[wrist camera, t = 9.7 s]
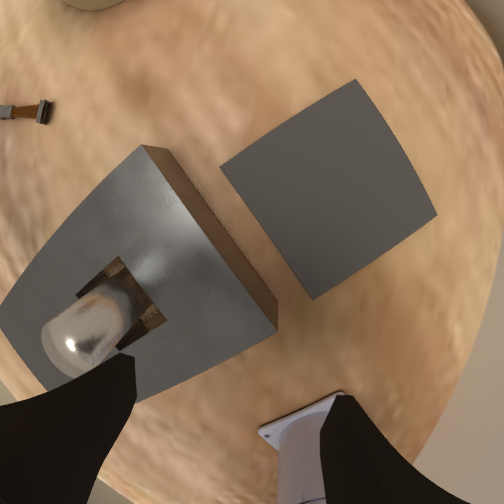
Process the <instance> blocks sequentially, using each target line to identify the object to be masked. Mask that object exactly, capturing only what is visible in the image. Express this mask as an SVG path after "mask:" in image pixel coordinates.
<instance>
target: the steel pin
mask: <svg viewBox="0 0 504 504" xmlns="http://www.w3.org/2000/svg"><path fill="white" fill-rule="evenodd" d="M152 304H153V301H152V300H151V299H150V298H149V296H148V295H147V294H146V292H145V291H144V290H143V288H142V287H141V286H140V284H139V283H138V282H137V280H136V279H135V278H134V276H133V275H132V274H131V272H130V271H129V270H128V268H127V267H125V268H124V269H122V270H121V271H119V272H118V273H116V274H115V275H113V276H112V277H110V278H109V279H107V280H106V281H105V282H103V283H102V284H100V285H99V286H97V287H96V288H94V289H93V290H92V291H90V292H89V293H87V294H86V295H84V296H83V297H82V298H80V299H79V300H77V301H76V302H75V303H73V304H72V305H70V306H69V307H68V308H66V309H65V310H64V311H62V312H61V313H59V314H58V315H57V316H55V317H54V318H53V319H51V320H50V321H49V322H47V323H46V324H45V325H44V326H43V328H42V332H41V339H42V344H43V347H44V350H45V352H46V354H47V356H48V357H49V359H50V360H51V362H52V363H53V364H54V365H55V366H56V367H57V368H58V369H59V370H60V371H62V372H63V373H64V374H66V375H68V376H70V377H72V378H77V377H79V376H81V375H82V374H84V373H86V372H88V371H89V370H91V369H93V368H94V367H96V366H98V365H99V364H100V362H101V361H102V360H103V359H104V358H105V357H106V355H107V354H108V353H109V352H110V351H111V350H112V349H113V347H114V346H115V345H116V344H117V343H118V342H119V341H120V339H121V338H122V337H123V336H124V335H125V334H126V333H127V332H128V330H129V329H130V328H131V327H132V326H133V325H134V324H135V323H136V321H137V320H138V319H139V318H140V317H141V316H142V315H143V314H144V313H145V311H146V310H147V309H148V308H149V307H150V306H151V305H152Z"/></svg>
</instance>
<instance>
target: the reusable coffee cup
mask: <svg viewBox="0 0 504 504" xmlns="http://www.w3.org/2000/svg"><path fill="white" fill-rule="evenodd" d="M59 1H61V2H64V3H67V4H69V5H71V6H74V7H76V8H79V9H81V10H85V11H96V10H101V9H105V8H108V7H111V6H114V5H116V4H118V3H120V2H122V1H124V0H59Z"/></svg>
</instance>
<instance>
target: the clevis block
mask: <svg viewBox="0 0 504 504" xmlns="http://www.w3.org/2000/svg"><path fill="white" fill-rule="evenodd" d="M121 261H123V263H124V264H125V265H126V267H127V268H128V270H129V271H130V272H131V274H132V275H133V276H134V278H135V279H136V280H137V282H138V283H139V284H140V286H141V287H142V288H143V290H144V291H145V292H146V294H147V295H148V296H149V298H150V299H151V300H152V301H153V303H154V304H155V305H156V307H157V308H158V309H159V310H160V312H159V313H158V314H156V315H155V316H153V317H152V318H150V319H149V320H147V321H146V322H144V323H142V322H141V321H140V320H139V319H138V320H137V321H136V323H135V324H134V325H133V326H132V327H131V328H130V329H129V330H128V332H127V333H126V334H125V335H124V336H123V337H122V338H121V339H120V341H119V342H118V343H117V344H116V345H115V346H114V347H113V349H112V350H111V351H110V352H109V353H108V354H107V355H106V357H105V358H104V359H103V360H102V361H101V362H100V364H101V363H103V362H104V361H106V360H108V359H109V358H111V357H113V356H114V355H116V354H118V353H123V354H127V355H130V356H133V357H135V372H136V387H137V399H136V401H135V403H138V402H140V401H142V400H144V399H147V398H149V397H151V396H153V395H155V394H158V393H160V392H162V391H164V390H166V389H168V388H171V387H173V386H175V385H177V384H179V383H181V382H183V381H185V380H187V379H189V378H191V377H193V376H195V375H198V374H200V373H202V372H204V371H206V370H208V369H209V368H211V367H213V366H215V365H217V364H219V363H221V362H223V361H225V360H227V359H229V358H231V357H233V356H235V355H236V354H238V353H240V352H242V351H244V350H246V349H248V348H249V347H251V346H253V345H255V344H257V343H259V342H260V341H262V340H264V339H266V338H268V337H269V336H271V335H273V334H275V333H276V332H278V301H277V300H276V299H275V297H274V296H273V294H272V293H271V292H270V290H269V289H268V288H267V286H266V285H265V283H264V282H263V281H262V279H261V278H260V277H259V275H258V274H257V272H256V271H255V270H254V268H253V267H252V266H251V264H250V263H249V261H248V260H247V259H246V257H245V256H244V255H243V253H242V252H241V250H240V249H239V248H238V246H237V245H236V243H235V242H234V241H233V239H232V238H231V237H230V235H229V234H228V232H227V231H226V230H225V228H224V227H223V225H222V224H221V223H220V221H219V220H218V219H217V217H216V216H215V214H214V213H213V212H212V210H211V209H210V207H209V206H208V205H207V203H206V202H205V200H204V199H203V198H202V196H201V195H200V193H199V192H198V191H197V189H196V188H195V187H194V185H193V184H192V182H191V181H190V180H189V178H188V177H187V175H186V174H185V173H184V171H183V170H182V168H181V167H180V166H179V164H178V163H177V161H176V160H175V159H174V157H173V156H172V154H171V153H170V151H169V150H168V149H164V148H159V147H153V146H147V145H142V144H141V145H140V146H139V147H138V148H137V149H136V150H134V151H133V152H132V153H131V154H130V155H129V156H128V157H127V158H126V159H125V160H124V161H122V162H121V163H120V164H119V165H118V166H117V167H116V168H115V169H114V170H113V171H112V172H111V173H110V174H109V175H108V176H107V177H106V178H105V179H104V180H103V181H102V182H101V183H100V184H99V185H98V186H97V187H96V188H95V189H94V190H93V191H92V192H91V193H90V194H89V195H88V196H87V197H86V198H85V199H84V200H83V201H82V202H81V204H80V205H79V206H78V207H77V208H76V209H75V210H74V211H73V212H72V213H71V215H70V216H69V217H68V218H67V219H66V220H65V221H64V222H63V224H62V225H61V226H60V227H59V228H58V229H57V231H56V232H55V233H54V234H53V235H52V236H51V238H50V239H49V240H48V241H47V243H46V244H45V245H44V246H43V247H42V249H41V250H40V251H39V253H38V254H37V255H36V256H35V258H34V259H33V260H32V262H31V263H30V264H29V265H28V267H27V268H26V269H25V271H24V272H23V274H22V275H21V276H20V278H19V279H18V280H17V282H16V283H15V285H14V286H13V288H12V289H11V290H10V292H9V293H8V295H7V296H6V298H5V299H4V301H3V302H2V304H1V305H0V328H1V330H2V332H3V333H4V335H5V336H6V338H7V339H8V340H9V342H10V343H11V345H12V346H13V348H14V349H15V350H16V352H17V353H18V355H19V356H20V357H21V359H22V360H23V361H24V363H25V364H26V365H27V367H28V368H29V369H30V370H31V372H32V373H33V374H34V376H35V377H36V378H37V379H38V380H39V382H40V383H41V384H42V385H43V386H44V388H45V389H46V390H47V391H51V390H53V389H55V388H57V387H59V386H61V385H63V384H65V383H67V382H69V381H71V380H73V379H75V378H72V377H70V376H68V375H66V374H64V373H63V372H62V371H60V370H59V369H58V368H57V367H56V366H55V365H54V364H53V363H52V362H51V360H50V359H49V357H48V356H47V354H46V352H45V350H44V347H43V344H42V339H41V332H42V328H43V326H44V325H45V324H46V323H47V322H49V321H50V320H51V319H53V318H54V317H55V316H57V315H58V314H59V313H61V312H62V311H64V310H65V309H66V308H68V307H69V306H70V305H72V304H73V303H75V302H76V301H77V300H79V299H80V298H82V297H83V296H84V295H86V294H87V293H89V292H90V291H92V290H93V289H94V288H96V287H97V286H99V285H100V284H102V283H103V282H105V281H106V280H107V279H108V277H107V276H106V274H107V273H108V272H109V271H110V270H111V269H112V268H114V267H115V266H116V265H117V264H118V263H119V262H121Z"/></svg>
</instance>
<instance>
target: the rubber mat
mask: <svg viewBox="0 0 504 504" xmlns="http://www.w3.org/2000/svg"><path fill="white" fill-rule="evenodd" d="M220 169H221V170H222V171H223V173H224V174H225V176H226V177H227V178H228V180H229V181H230V183H231V184H232V185H233V187H234V188H235V189H236V191H237V192H238V194H239V195H240V196H241V198H242V199H243V201H244V202H245V203H246V205H247V206H248V208H249V209H250V211H251V212H252V213H253V215H254V216H255V218H256V219H257V220H258V222H259V223H260V225H261V226H262V227H263V229H264V230H265V232H266V233H267V235H268V236H269V237H270V239H271V240H272V242H273V243H274V245H275V246H276V247H277V249H278V250H279V252H280V253H281V255H282V256H283V258H284V259H285V260H286V262H287V263H288V265H289V266H290V268H291V269H292V271H293V272H294V273H295V275H296V276H297V278H298V279H299V281H300V282H301V284H302V285H303V287H304V288H305V289H306V291H307V292H308V294H309V295H310V297H311V298H312V300H314V299H315V298H317V297H318V296H320V295H322V294H323V293H325V292H326V291H328V290H330V289H331V288H333V287H334V286H336V285H337V284H339V283H340V282H342V281H344V280H345V279H347V278H348V277H350V276H351V275H353V274H354V273H356V272H357V271H359V270H360V269H362V268H363V267H365V266H366V265H368V264H369V263H371V262H372V261H374V260H375V259H377V258H378V257H380V256H381V255H383V254H384V253H386V252H387V251H388V250H390V249H391V248H393V247H394V246H396V245H397V244H398V243H400V242H401V241H403V240H404V239H406V238H407V237H408V236H410V235H411V234H413V233H414V232H415V231H417V230H418V229H419V228H421V227H422V226H424V225H425V224H426V223H428V222H429V221H430V220H432V219H433V218H434V217H436V216H437V213H436V211H435V209H434V207H433V205H432V202H431V200H430V198H429V196H428V194H427V192H426V190H425V188H424V186H423V185H422V183H421V181H420V179H419V177H418V175H417V173H416V171H415V170H414V168H413V166H412V164H411V162H410V161H409V159H408V157H407V155H406V154H405V152H404V150H403V148H402V147H401V145H400V143H399V142H398V140H397V139H396V137H395V135H394V134H393V132H392V130H391V129H390V127H389V126H388V124H387V123H386V121H385V120H384V118H383V117H382V115H381V114H380V112H379V111H378V109H377V108H376V106H375V105H374V103H373V102H372V100H371V99H370V98H369V96H368V95H367V93H366V92H365V91H364V89H363V88H362V87H361V85H360V84H359V83H358V81H357V80H356V79H354V80H353V81H351V82H349V83H347V84H346V85H344V86H342V87H341V88H339V89H337V90H335V91H334V92H332V93H330V94H329V95H327V96H325V97H324V98H322V99H320V100H319V101H317V102H316V103H314V104H312V105H311V106H309V107H307V108H306V109H304V110H303V111H301V112H300V113H298V114H296V115H295V116H293V117H292V118H290V119H289V120H287V121H286V122H284V123H282V124H281V125H279V126H278V127H276V128H275V129H273V130H272V131H270V132H269V133H267V134H266V135H264V136H263V137H262V138H260V139H259V140H257V141H256V142H254V143H253V144H251V145H250V146H248V147H247V148H246V149H244V150H243V151H241V152H240V153H238V154H237V155H236V156H234V157H233V158H231V159H230V160H229V161H227V162H226V163H225V164H223V165H222V166H220Z"/></svg>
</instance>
